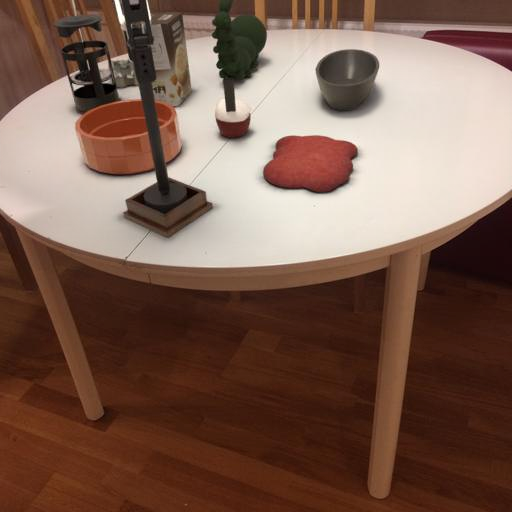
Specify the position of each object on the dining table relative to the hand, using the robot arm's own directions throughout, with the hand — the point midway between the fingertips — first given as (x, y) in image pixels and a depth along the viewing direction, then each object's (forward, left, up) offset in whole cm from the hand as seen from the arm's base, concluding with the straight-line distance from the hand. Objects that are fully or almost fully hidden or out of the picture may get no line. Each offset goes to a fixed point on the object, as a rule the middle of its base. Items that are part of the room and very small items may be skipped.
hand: (142, 70), depth 63 cm
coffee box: (+32, +32, -20) cm, 50 cm away
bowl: (+51, +1, -20) cm, 55 cm away
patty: (+23, -9, -20) cm, 32 cm away
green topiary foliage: (+53, +30, -20) cm, 64 cm away
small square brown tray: (0, 0, -20) cm, 20 cm away
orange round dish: (+10, +19, -20) cm, 29 cm away
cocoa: (+25, +9, -20) cm, 33 cm away
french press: (+21, +43, -20) cm, 52 cm away
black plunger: (0, 0, -19) cm, 19 cm away
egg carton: (+35, +50, -20) cm, 64 cm away
